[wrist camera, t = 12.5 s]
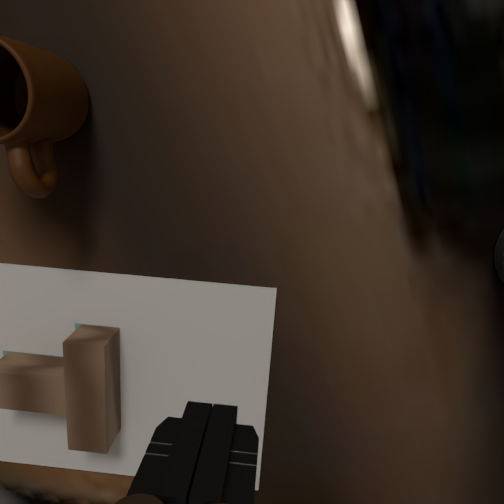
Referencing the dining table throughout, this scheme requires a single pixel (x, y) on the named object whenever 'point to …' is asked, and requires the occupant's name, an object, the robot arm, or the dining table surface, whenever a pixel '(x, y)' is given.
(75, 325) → the mat
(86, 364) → the t block
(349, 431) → the dining table surface
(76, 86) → the mug
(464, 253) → the dining table surface
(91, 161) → the dining table surface
